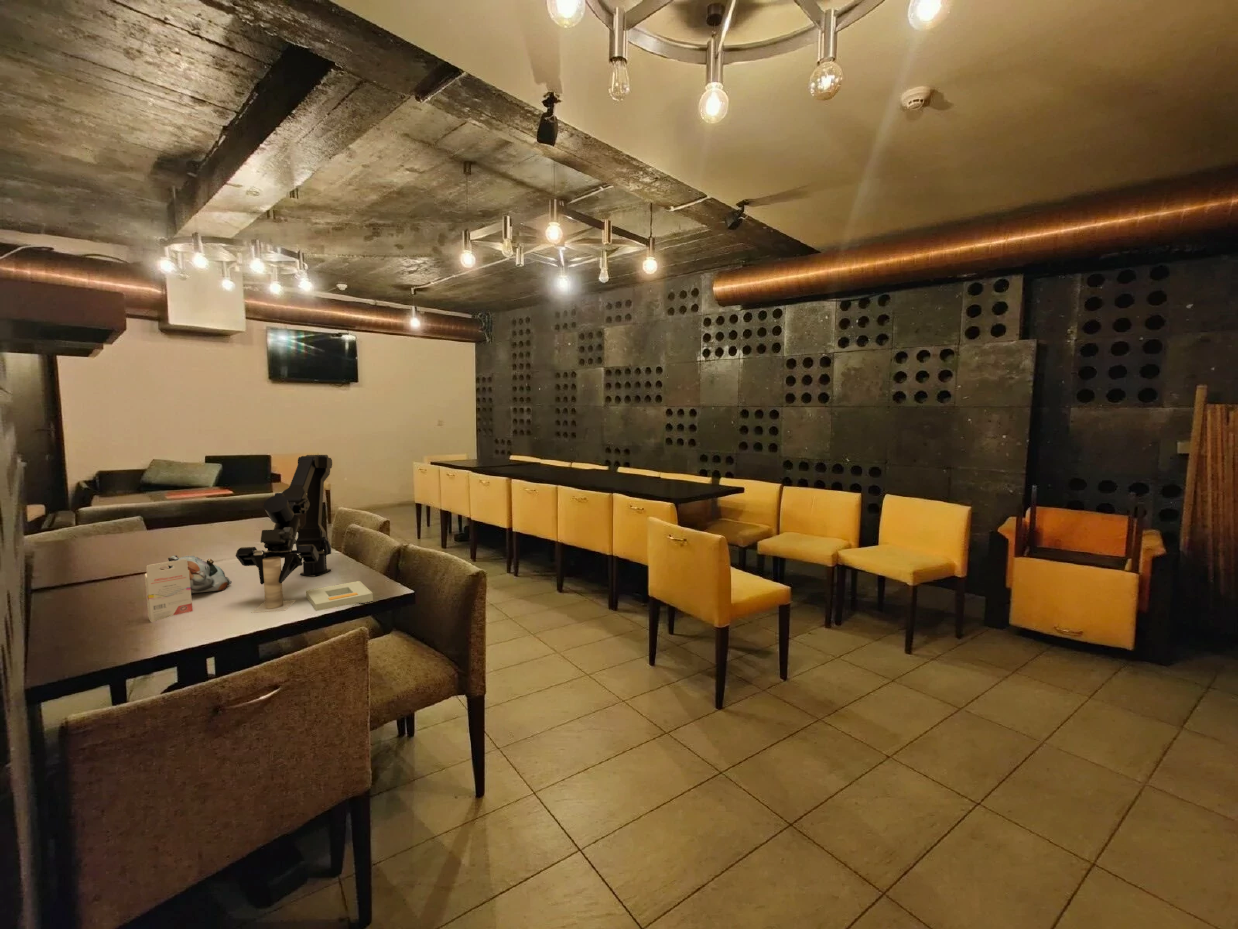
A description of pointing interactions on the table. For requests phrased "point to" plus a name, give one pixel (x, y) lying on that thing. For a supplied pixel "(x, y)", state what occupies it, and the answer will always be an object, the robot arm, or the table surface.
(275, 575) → the birch peg
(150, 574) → the ink cartridge box
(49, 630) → the table surface
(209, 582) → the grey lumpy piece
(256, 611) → the tab
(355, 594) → the socket block
